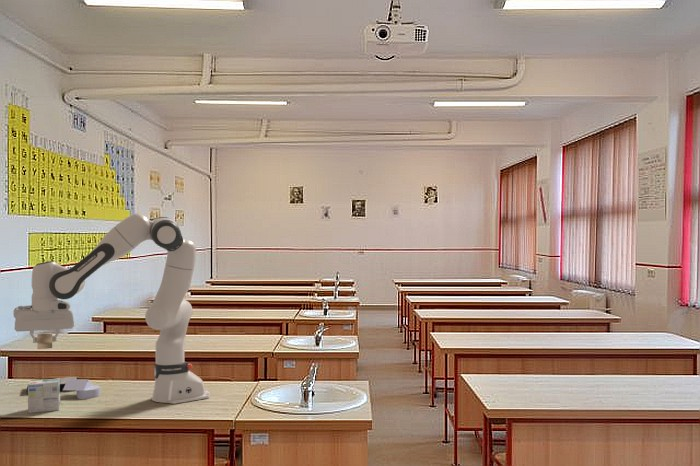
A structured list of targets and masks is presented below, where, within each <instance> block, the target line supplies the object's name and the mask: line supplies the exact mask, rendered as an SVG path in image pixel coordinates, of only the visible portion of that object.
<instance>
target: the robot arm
mask: <svg viewBox="0 0 700 466" xmlns="http://www.w3.org/2000/svg"><path fill="white" fill-rule="evenodd" d="M182 235H183V234H182V232H181V230H180V227H179V225H178V223H177V222H176V221H175V220H173V219H172V218H170V217H167V216H160V217H159V216H158V217H155V218H150V219H149V218H148V217H147V216H146V215H144V214H142V213H139V212H136V213H133V214H131V215H129V216H128V217H126V218H124V219H123V220H122V221H120V222H118V223H117V224H116V225H115V226H113V227H112V228H111V229H110V230H109V231H108V232H107V233H106V234H105V235H104V236H103V237H102V238H101V240H100V241H99V242H98V244H97V245H96V246H95V247H94V248H93V250H91V251H90V252H89V253H88V254H87V255H86V256H85V257H83V258H82V259H81V260H79V261H78V262H77V263H76V264H75V265H73V266H72V267H70V268H68V267H65V266H63V265H60V264H59V263H57V262H56V261H55V260H51V261H50V260H49V261H43V262H38V263H37V264H35V265H34V266H33V268H32V273H31V289H32V294H31V305H18V306H17V307H15V308H14V309H13V318H14V319H15V320H14V331H15V332H18V333H19V332H29V335H30V337H31V338H32V343H33V344H37V336H35V335H34V334H35V331H36V332H37V331H51V330H53V331H54V330H55V331H54V332H55V335H54V336H53V335H52V343H54V342H55V343H56V342H57V337H58V335H59V334H60V332H61V331H60V330H69V329H73V328H74V327H75V320H74V315H73V312H72V309H71V303H70V302H67V301H64V300H69V299H71V298H73V297H74V296H76V295H77V294H79V293H80V292H81V291H82V290H83V289H84V286H85V285H86V284H85V283H86V279H88V278H90V277H91V275H92V274H94V273H95V272H96V271H98V269H100V268H101V267H103V266H105V265H106V264H109V263H111V262H114V261H116V260H118V259H121V258H123V257H124V256H126V255H127V254H129V253H130V252H132V251H133V250H135V249H136V247H138V246H139V245H140V244H141V243H143V242H145V241H147V240H148V241H149V240H151V241H152V242H154V244H155V245H156V246H158V247H160V248H162V249H164V250H165V251H166V253H167V257H166V259H165V266H164V270H163V274H162V279H161V282H160V285H159V287H158V290H157V293H156V294H155V297H154V298H153V300H152V303H151V304H150V306H149V307H148V308H147V310H146V311H145V315H144V318H145V322H146V324H147V326H148V327H149V328H151V329H153V330H155V331H158V330H159V331H160V332H159V335H158V338H157V340H156V342H155V363H154V368H153V370H154V371H153V372H154V387H153V393H152V397H151V400H152V401H153V402H157V403H161V404H162V403H165V404H181V403H187V402H193V401H198V400H205V399H209V398H210V397H211V392H210V391H209V390H207V389H205V384H204V382H203V379H202V378H201V377H199V376H198V375H196V374H195V373H193V372H192V371H191V369H193V364H192V363H189V362H187V361H185V344H186V343H185V342H186V335H187V330H188V327H189V322H190V320H191V318H192V315H193V311H194V310H193V307H192V304H191V303H190V302H189V301H188V300H186V299H184V298H185V296H186V294H187V293H188V291H189V290H190V288H191V285H192V279H193V275H194V270H195V265H196V255H197V254H196V253H197V246H196V244H195V242H193V241H192V240H190V239H188V238H184V237H183V236H182Z"/></svg>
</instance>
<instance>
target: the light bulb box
mask: <svg viewBox="0 0 700 466" xmlns="http://www.w3.org/2000/svg"><path fill="white" fill-rule="evenodd" d="M57 378H58V379H53V378H47V379H48V380H43V379H36V380H37V381H31V380H29V381H30V382H29V381H28V383H27V386H28V395H27V408H28V412H27V413H28V414H32V413H34V414H35V413H43V412H53V411H59V410H60V408H61V392H60V379H59V378H60V377H57Z"/></svg>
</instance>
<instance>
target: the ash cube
mask: <svg viewBox="0 0 700 466" xmlns="http://www.w3.org/2000/svg"><path fill="white" fill-rule="evenodd" d="M52 336H53V333H52V332H46V333H45V332H42V333H37V335H36V337H37V343H36V344H37V350H45V349H46V350H47V349H53V342H52Z"/></svg>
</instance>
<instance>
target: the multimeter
mask: <svg viewBox="0 0 700 466" xmlns="http://www.w3.org/2000/svg"><path fill="white" fill-rule="evenodd" d="M58 378H59V379H60V393H65V392H77V390H63V389H64V386H65V384H66V382H67V380H68V379H79V378H78V377H77V376H68V377H57V378H52V379H58ZM48 379H49V378H47V379H45V378H44V379H43V378H42V380H48ZM37 380H38V379H33V380H29V381H28V383H29V382H30V381H37ZM26 395H27V396H28V385H27V387H26Z"/></svg>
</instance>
